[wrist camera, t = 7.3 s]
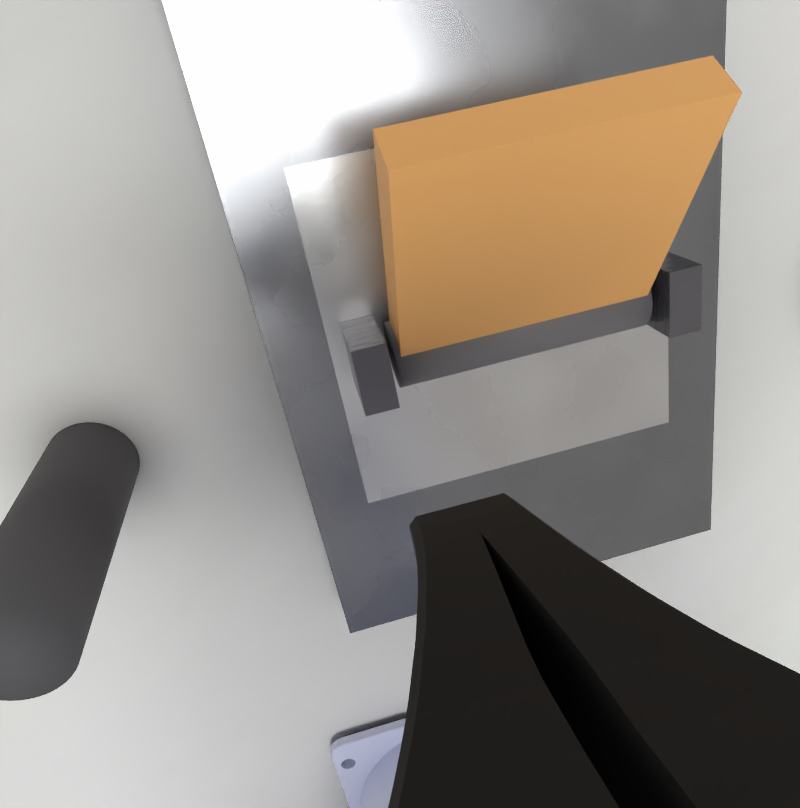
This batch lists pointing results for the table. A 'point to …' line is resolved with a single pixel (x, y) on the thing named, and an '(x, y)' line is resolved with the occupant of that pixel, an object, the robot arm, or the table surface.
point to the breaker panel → (367, 292)
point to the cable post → (60, 555)
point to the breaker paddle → (539, 214)
